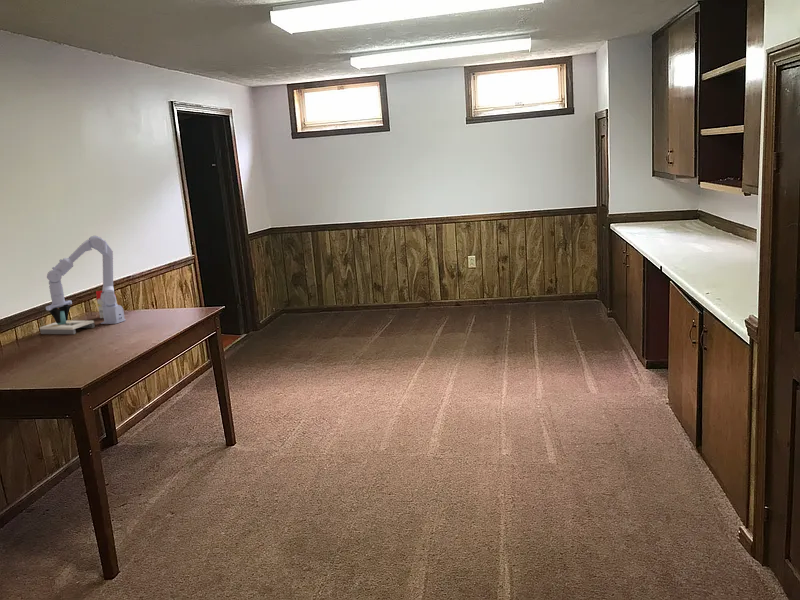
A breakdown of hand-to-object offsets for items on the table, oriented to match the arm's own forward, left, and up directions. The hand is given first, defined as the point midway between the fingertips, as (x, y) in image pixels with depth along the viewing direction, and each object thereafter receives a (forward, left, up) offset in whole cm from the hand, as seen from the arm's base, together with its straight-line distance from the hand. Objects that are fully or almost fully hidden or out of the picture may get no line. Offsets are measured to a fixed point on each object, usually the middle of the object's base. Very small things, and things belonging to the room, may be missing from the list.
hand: (61, 321), depth 336 cm
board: (-3, 0, -4) cm, 5 cm away
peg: (0, 0, -4) cm, 4 cm away
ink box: (-3, -29, -5) cm, 30 cm away
